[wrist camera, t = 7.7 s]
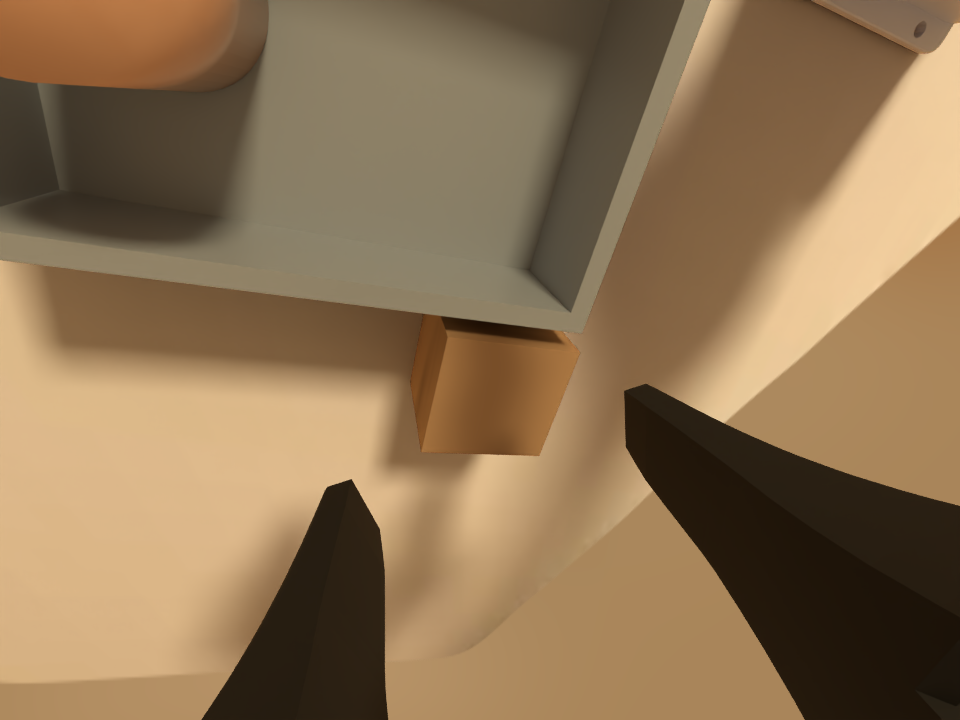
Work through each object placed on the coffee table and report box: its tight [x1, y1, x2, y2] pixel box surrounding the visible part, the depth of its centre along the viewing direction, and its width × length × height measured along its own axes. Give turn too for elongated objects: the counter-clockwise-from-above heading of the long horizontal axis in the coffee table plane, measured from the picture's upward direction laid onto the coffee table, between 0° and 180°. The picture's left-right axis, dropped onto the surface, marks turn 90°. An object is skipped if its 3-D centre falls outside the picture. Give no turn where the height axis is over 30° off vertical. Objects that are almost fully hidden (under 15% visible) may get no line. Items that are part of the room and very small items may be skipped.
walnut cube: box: [410, 314, 580, 456], centre depth 18 cm, size 5×5×5 cm
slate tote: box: [0, 0, 711, 334], centre depth 11 cm, size 17×13×5 cm
